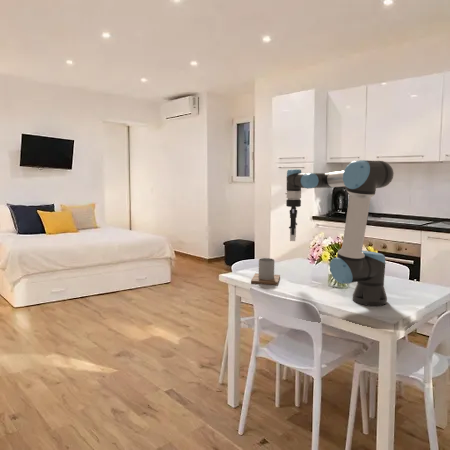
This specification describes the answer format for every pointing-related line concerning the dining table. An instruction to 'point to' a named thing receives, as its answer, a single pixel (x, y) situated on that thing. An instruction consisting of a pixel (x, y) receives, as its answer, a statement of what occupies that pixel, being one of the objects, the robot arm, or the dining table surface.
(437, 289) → the dining table surface
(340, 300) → the dining table surface
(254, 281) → the walnut board
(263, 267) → the cup
